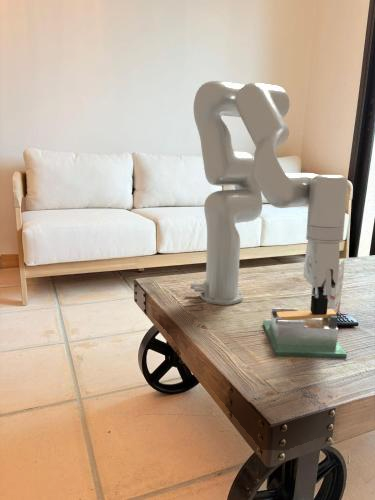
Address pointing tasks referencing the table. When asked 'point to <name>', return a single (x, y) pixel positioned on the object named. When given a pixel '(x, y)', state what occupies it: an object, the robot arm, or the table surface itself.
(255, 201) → the robot arm
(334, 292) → the ink cartridge box
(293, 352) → the board
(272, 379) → the table surface
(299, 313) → the orange wooden bar
